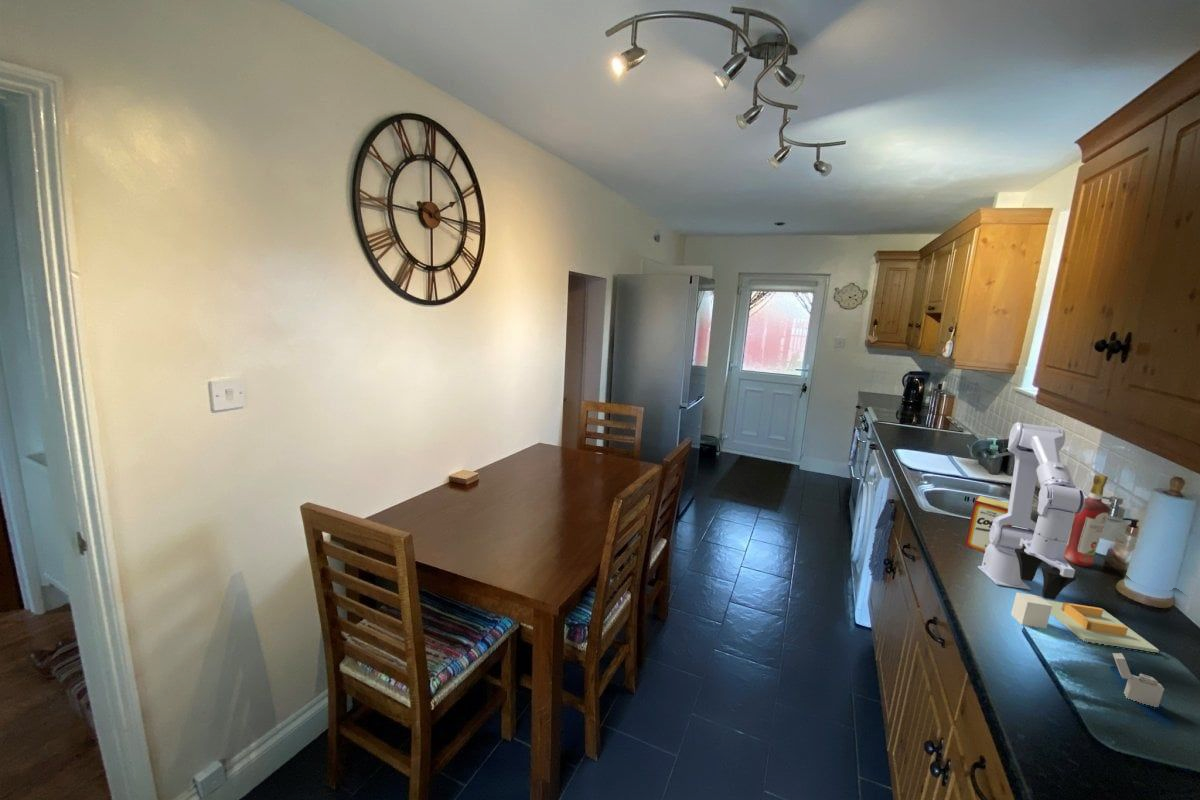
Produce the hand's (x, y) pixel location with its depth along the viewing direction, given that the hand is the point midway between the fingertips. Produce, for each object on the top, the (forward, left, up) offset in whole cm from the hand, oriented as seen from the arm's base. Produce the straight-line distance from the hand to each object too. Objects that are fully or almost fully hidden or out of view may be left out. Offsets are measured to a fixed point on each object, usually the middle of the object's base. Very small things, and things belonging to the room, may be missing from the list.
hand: (1036, 588), depth 111 cm
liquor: (-39, +36, -9) cm, 54 cm away
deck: (-3, +15, -9) cm, 17 cm away
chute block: (0, 0, -9) cm, 9 cm away
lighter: (+22, +4, -9) cm, 24 cm away
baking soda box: (-40, +12, -9) cm, 42 cm away
